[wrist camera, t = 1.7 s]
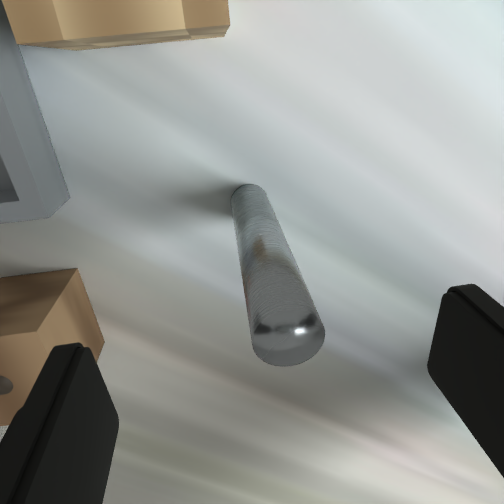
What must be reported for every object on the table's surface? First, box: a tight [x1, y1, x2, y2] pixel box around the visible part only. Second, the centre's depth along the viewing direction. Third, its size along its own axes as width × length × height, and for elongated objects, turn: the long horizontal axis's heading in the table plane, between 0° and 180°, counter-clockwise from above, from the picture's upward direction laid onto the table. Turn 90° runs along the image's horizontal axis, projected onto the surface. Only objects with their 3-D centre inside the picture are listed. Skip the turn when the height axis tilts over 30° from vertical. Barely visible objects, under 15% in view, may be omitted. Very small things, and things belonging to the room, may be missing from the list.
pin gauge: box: [231, 184, 325, 366], centre depth 16 cm, size 2×2×12 cm
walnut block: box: [0, 268, 105, 426], centre depth 21 cm, size 6×6×6 cm
